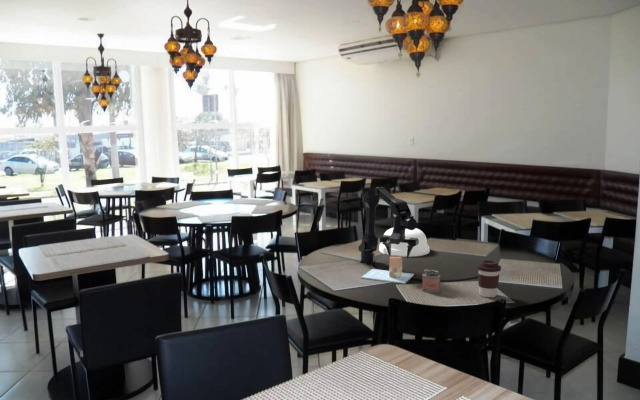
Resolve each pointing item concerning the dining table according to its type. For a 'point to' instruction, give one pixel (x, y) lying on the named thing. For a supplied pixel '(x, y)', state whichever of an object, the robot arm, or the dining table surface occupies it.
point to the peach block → (395, 261)
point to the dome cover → (402, 247)
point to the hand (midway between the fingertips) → (398, 257)
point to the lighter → (431, 281)
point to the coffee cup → (488, 278)
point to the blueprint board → (386, 276)
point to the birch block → (395, 272)
